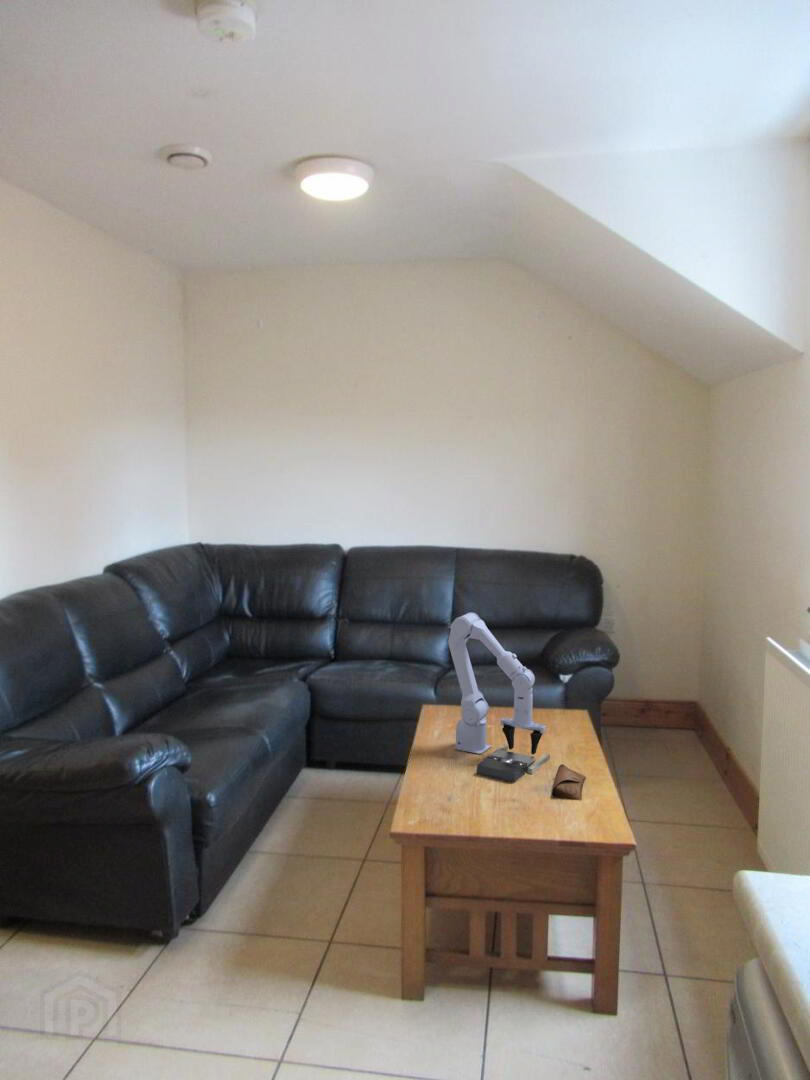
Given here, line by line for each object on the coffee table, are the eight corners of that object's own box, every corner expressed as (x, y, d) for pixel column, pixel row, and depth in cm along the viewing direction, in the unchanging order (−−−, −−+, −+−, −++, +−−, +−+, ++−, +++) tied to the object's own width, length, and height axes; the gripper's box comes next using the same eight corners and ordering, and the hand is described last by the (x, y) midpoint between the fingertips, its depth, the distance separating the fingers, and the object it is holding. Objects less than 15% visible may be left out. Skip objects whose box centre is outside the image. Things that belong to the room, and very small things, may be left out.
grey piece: (486, 767, 231) (486, 757, 231) (498, 758, 239) (498, 748, 239) (522, 776, 225) (522, 765, 225) (534, 766, 233) (534, 756, 232)
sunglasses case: (583, 801, 207) (571, 779, 208) (560, 811, 209) (548, 789, 210) (586, 776, 225) (575, 756, 225) (565, 785, 227) (554, 765, 227)
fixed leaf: (477, 774, 226) (477, 763, 226) (490, 764, 234) (490, 754, 234) (514, 782, 220) (514, 772, 220) (526, 772, 228) (526, 762, 227)
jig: (484, 763, 235) (484, 758, 235) (503, 749, 247) (503, 744, 247) (532, 773, 226) (532, 769, 226) (549, 758, 238) (549, 754, 238)
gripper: (496, 708, 239) (496, 750, 240) (540, 716, 231) (539, 759, 233) (506, 702, 245) (505, 743, 246) (548, 710, 237) (547, 752, 239)
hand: (522, 750), depth 240 cm, fingers open, 7 cm apart
